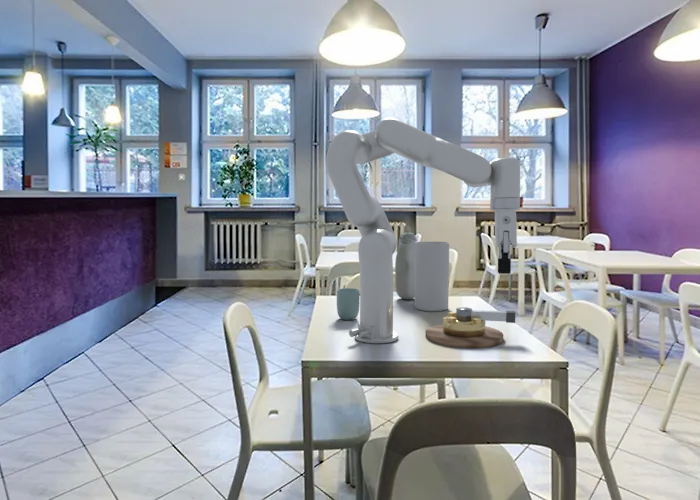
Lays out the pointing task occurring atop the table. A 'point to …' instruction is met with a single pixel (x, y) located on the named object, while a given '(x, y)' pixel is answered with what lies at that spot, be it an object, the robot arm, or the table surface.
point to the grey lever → (473, 321)
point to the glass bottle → (405, 266)
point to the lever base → (464, 338)
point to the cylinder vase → (431, 275)
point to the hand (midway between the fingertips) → (504, 273)
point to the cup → (348, 303)
